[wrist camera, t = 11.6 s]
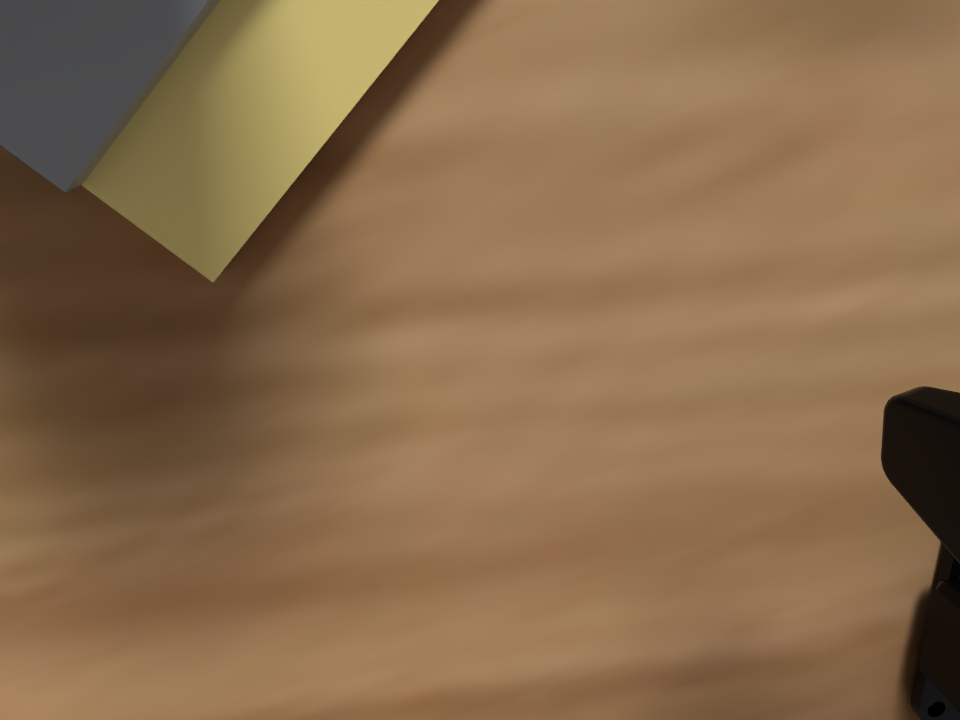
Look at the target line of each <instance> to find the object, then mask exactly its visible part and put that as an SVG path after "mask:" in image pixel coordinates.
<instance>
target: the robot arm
mask: <svg viewBox="0 0 960 720" xmlns="http://www.w3.org/2000/svg"><path fill="white" fill-rule="evenodd" d="M881 462H882V467H883V469H884V472H885V474H886V476H887V478H888V479H889V481H890V482H891V484H892V485H893V486H894V487H895V488H896V489H897V491H898V492H899V493H900V494H901V495H902V496H903V498H904V499H905V500H906V501H907V502H908V503H909V505H910V506H911V507H912V508H913V509H914V511H915V512H916V513H917V514H918V515H919V516H920V518H921V519H922V520H923V521H924V522H925V523H926V525H927V526H928V527H929V528H930V529H931V531H932V532H933V533H934V534H935V535H936V536H937V538H938V539H939V540H940V541H941V542H942V543H943V545H944V546H945V548H944V553H943V557H942V562H941V566H940V571H939V575H938V580H937V584H936V589H935V593H934V597H933V602H932V606H931V611H930V615H929V620H928V624H927V629H926V633H925V638H924V642H923V647H922V651H921V656H920V660H919V666H918V670H917V675H916V680H915V684H914V689H913V693H912V698H911V707H912V709H913V711H914V712H915V713H916V715H917V716H918V717H919V718H920V719H921V720H960V393H958V392H953V391H948V390H943V389H938V388H933V387H926V386H925V387H917V388H914V389H911V390H909V391H906V392H904V393H901V394H898V395H896V396H893V397H892V398H890V399H889V400H888V402H887V404H886V405H885V408H884V417H883V433H882V449H881ZM933 703H934V704H933ZM931 704H933V705H931ZM930 705H931V706H930Z"/></svg>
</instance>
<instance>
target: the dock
mask: <svg viewBox="0 0 960 720" xmlns="http://www.w3.org/2000/svg"><path fill="white" fill-rule="evenodd" d="M438 1H439V0H0V145H1V146H2V147H3V148H5V149H6V150H8V151H9V152H10V153H12V154H13V155H14V156H16V157H17V158H18V159H20V160H21V161H23V162H24V163H25V164H27V165H28V166H29V167H31V168H32V169H33V170H35V171H36V172H38V173H39V174H40V175H42V176H43V177H44V178H46V179H47V180H48V181H50V182H51V183H53V184H54V185H55V186H57V187H58V188H59V189H61V190H62V191H63V192H67V191H69V190H72V189H74V188H76V187H78V186H80V185H82V186H83V187H84V188H86V189H87V190H89V191H90V192H91V193H93V194H94V195H95V196H97V197H98V198H99V199H101V200H102V201H103V202H105V203H106V204H107V205H109V206H110V207H111V208H113V209H114V210H116V211H117V212H118V213H120V214H121V215H122V216H124V217H125V218H126V219H128V220H129V221H130V222H132V223H133V224H134V225H136V226H137V227H139V228H140V229H141V230H143V231H144V232H145V233H147V234H148V235H149V236H151V237H152V238H153V239H155V240H156V241H157V242H159V243H160V244H161V245H163V246H164V247H166V248H167V249H168V250H170V251H171V252H172V253H174V254H175V255H176V256H178V257H179V258H180V259H182V260H183V261H184V262H186V263H187V264H189V265H190V266H191V267H193V268H194V269H195V270H197V271H198V272H199V273H201V274H202V275H203V276H205V277H206V278H207V279H209V280H210V281H211V282H214V281H215V280H216V279H217V277H218V276H219V275H220V274H221V272H222V271H223V270H224V269H225V267H226V266H227V265H228V264H229V262H230V261H231V260H232V259H233V257H234V256H235V255H236V254H237V252H238V251H239V250H240V249H241V247H242V246H243V245H244V244H245V242H246V241H247V240H248V239H249V237H250V236H251V235H252V233H253V232H254V231H255V230H256V228H257V227H258V226H259V225H260V223H261V222H262V221H263V220H264V218H265V217H266V216H267V215H268V213H269V212H270V211H271V210H272V208H273V207H274V206H275V205H276V203H277V202H278V201H279V200H280V198H281V197H282V196H283V195H284V193H285V192H286V191H287V190H288V188H289V187H290V186H291V185H292V183H293V182H294V181H295V180H296V178H297V177H298V176H299V175H300V173H301V172H302V171H303V170H304V168H305V167H306V166H307V165H308V163H309V162H310V161H311V160H312V158H313V157H314V156H315V155H316V153H317V152H318V151H319V150H320V148H321V147H322V146H323V145H324V143H325V142H326V141H327V140H328V138H329V137H330V136H331V135H332V133H333V132H334V131H335V130H336V128H337V127H338V126H339V125H340V123H341V122H342V121H343V120H344V118H345V117H346V116H347V115H348V113H349V112H350V111H351V110H352V108H353V107H354V106H355V105H356V103H357V102H358V101H359V100H360V98H361V97H362V96H363V95H364V93H365V92H366V91H367V90H368V88H369V87H370V86H371V85H372V83H373V82H374V81H375V80H376V78H377V77H378V76H379V75H380V73H381V72H382V71H383V70H384V68H385V67H386V66H387V65H388V63H389V62H390V61H391V60H392V58H393V57H394V56H395V55H396V53H397V52H398V51H399V50H400V48H401V47H402V46H403V45H404V43H405V42H406V41H407V40H408V38H409V37H410V36H411V35H412V33H413V32H414V31H415V30H416V28H417V27H418V26H419V25H420V23H421V22H422V21H423V20H424V18H425V17H426V16H427V15H428V13H429V12H430V11H431V10H432V8H433V7H434V6H435V5H436V3H437V2H438Z"/></svg>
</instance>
